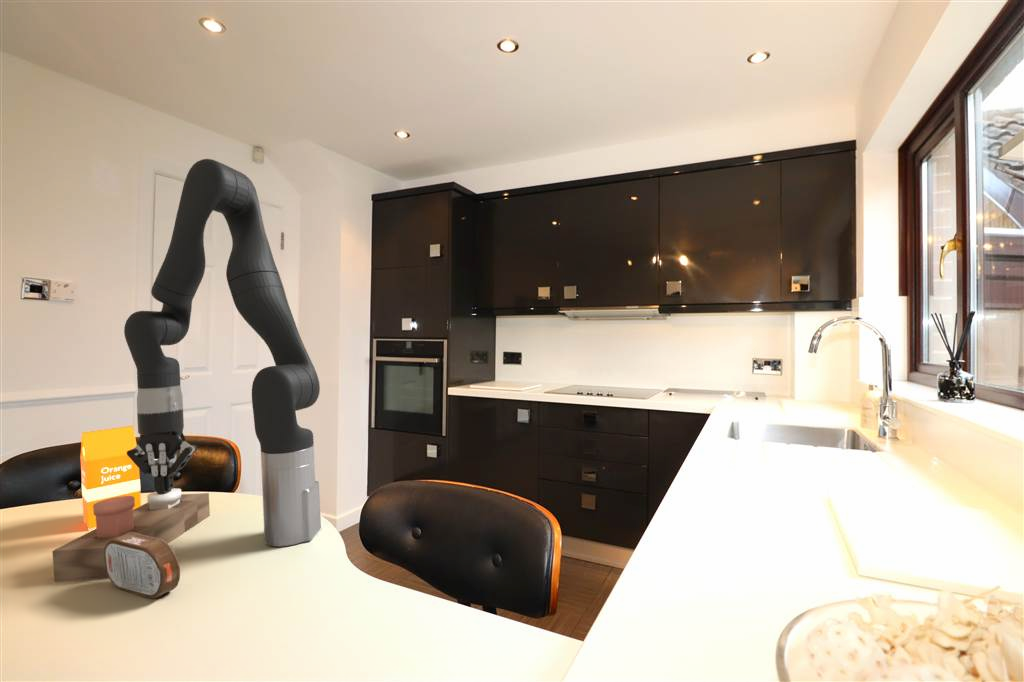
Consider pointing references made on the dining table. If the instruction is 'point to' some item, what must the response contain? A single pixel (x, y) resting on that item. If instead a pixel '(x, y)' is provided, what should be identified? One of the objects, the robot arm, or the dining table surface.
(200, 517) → the block
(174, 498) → the white rounded piece
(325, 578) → the dining table surface
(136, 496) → the orange juice
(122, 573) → the tin
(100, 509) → the brick plunger
